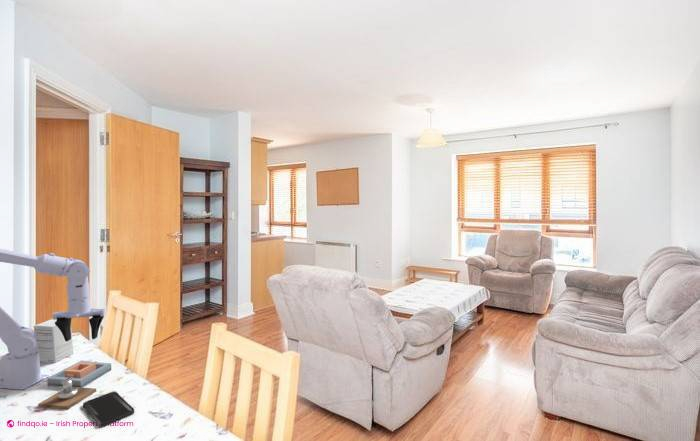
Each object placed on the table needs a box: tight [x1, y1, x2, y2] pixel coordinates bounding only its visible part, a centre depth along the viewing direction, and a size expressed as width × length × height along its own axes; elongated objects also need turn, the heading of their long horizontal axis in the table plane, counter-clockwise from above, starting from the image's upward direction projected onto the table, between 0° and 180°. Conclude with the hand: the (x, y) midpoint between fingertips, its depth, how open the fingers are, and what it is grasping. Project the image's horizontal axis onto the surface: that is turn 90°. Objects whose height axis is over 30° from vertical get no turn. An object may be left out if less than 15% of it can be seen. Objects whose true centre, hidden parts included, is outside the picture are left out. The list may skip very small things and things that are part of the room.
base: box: [37, 387, 97, 410], centre depth 102 cm, size 9×9×1 cm
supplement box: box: [33, 318, 74, 363], centre depth 128 cm, size 7×7×13 cm
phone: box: [82, 391, 135, 428], centre depth 97 cm, size 8×1×15 cm
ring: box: [64, 361, 96, 379], centre depth 113 cm, size 6×6×2 cm
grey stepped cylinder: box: [57, 377, 78, 400], centre depth 102 cm, size 4×4×5 cm
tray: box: [46, 360, 112, 388], centre depth 114 cm, size 11×11×2 cm
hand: (81, 339), depth 120 cm, fingers open, 7 cm apart
